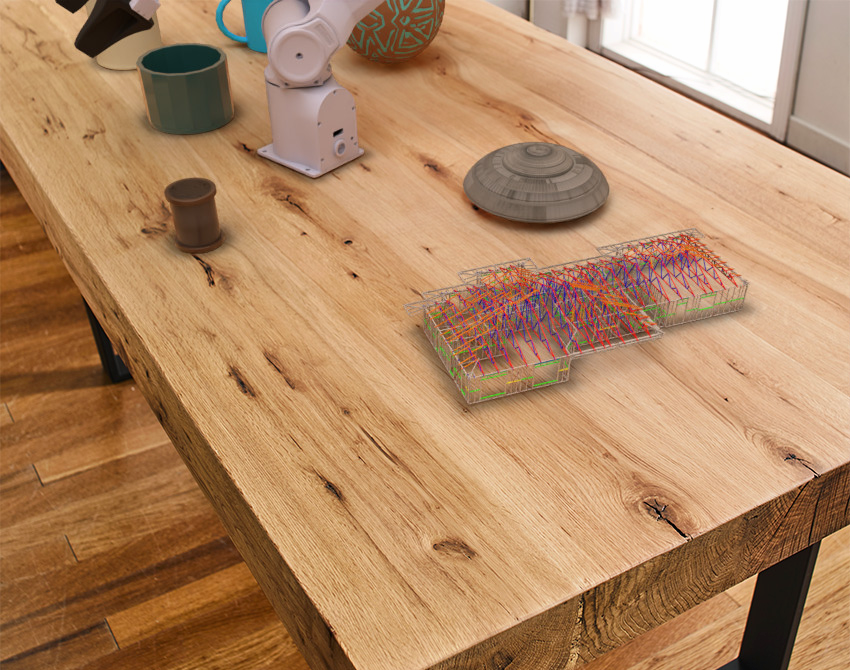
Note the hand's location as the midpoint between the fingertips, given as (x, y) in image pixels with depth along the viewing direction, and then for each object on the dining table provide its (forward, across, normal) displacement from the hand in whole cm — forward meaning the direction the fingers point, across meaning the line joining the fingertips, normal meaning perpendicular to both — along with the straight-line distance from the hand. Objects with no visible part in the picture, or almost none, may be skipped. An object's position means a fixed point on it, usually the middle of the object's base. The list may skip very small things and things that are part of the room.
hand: (73, 28), depth 91 cm
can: (+10, -28, +24) cm, 38 cm away
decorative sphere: (-16, -11, +42) cm, 47 cm away
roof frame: (-21, +50, +23) cm, 58 cm away
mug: (-4, -24, +36) cm, 44 cm away
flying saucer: (-22, +30, +32) cm, 49 cm away
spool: (+3, +22, +10) cm, 25 cm away
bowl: (+3, -6, +21) cm, 22 cm away
